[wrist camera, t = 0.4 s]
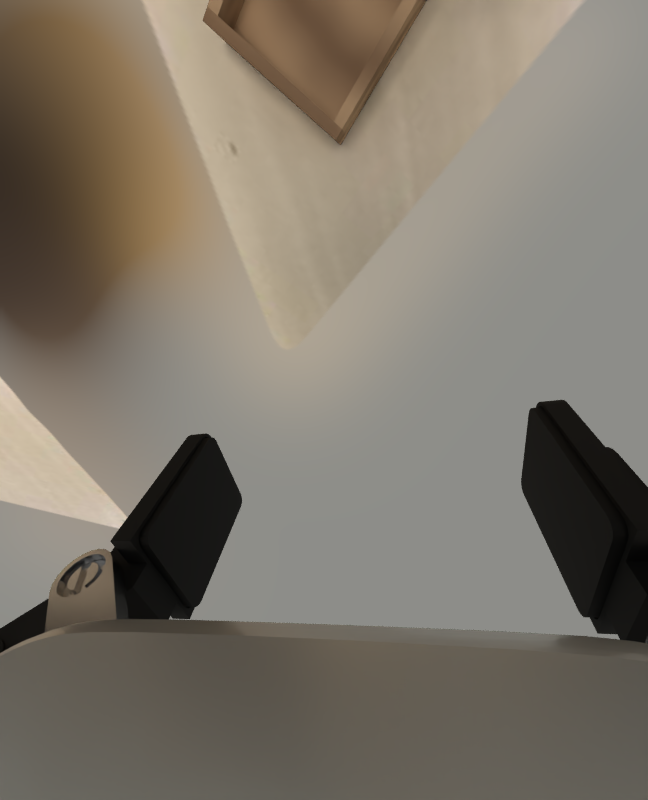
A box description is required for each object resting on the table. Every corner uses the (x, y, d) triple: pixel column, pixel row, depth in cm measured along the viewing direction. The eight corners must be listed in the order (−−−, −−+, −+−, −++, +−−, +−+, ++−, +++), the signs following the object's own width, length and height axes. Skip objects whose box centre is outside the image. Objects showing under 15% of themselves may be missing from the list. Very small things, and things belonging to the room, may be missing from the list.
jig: (296, -151, 22) (281, -213, 19) (429, -5, 25) (437, -36, 21) (225, 41, 28) (202, 20, 24) (340, 144, 30) (335, 139, 27)
